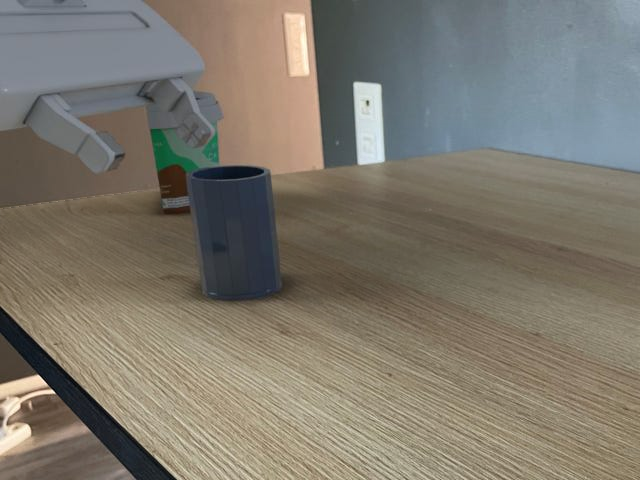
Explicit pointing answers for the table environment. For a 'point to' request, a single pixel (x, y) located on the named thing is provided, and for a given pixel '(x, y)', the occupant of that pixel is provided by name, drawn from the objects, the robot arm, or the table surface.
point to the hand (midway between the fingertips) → (162, 152)
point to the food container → (181, 152)
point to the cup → (234, 231)
